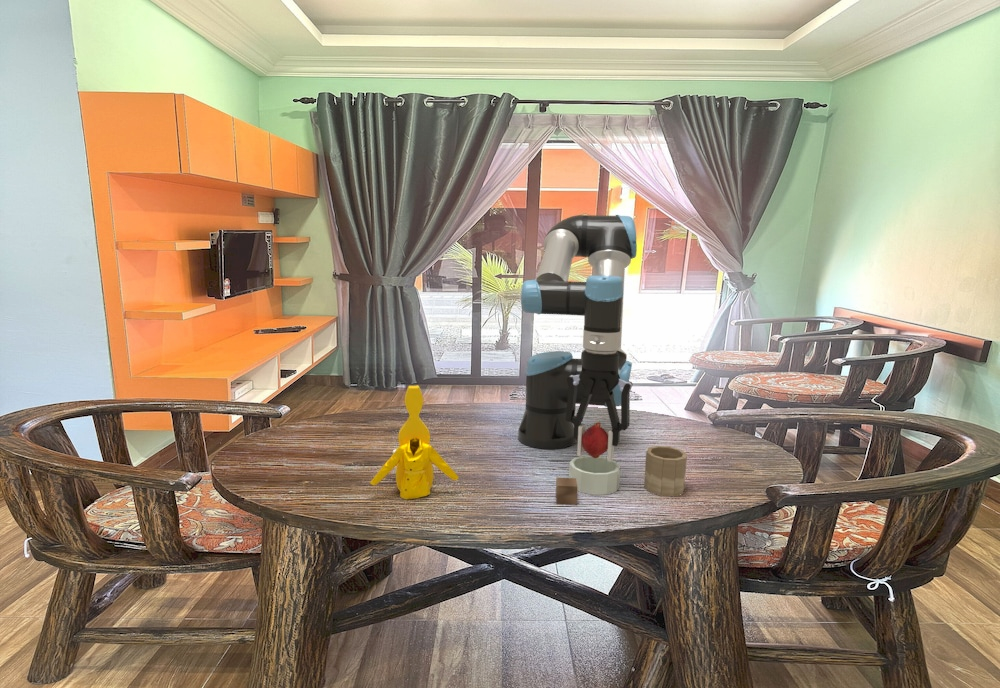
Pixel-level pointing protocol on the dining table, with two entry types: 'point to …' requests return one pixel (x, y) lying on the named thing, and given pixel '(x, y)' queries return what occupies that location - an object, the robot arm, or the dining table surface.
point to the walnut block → (566, 491)
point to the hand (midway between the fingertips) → (595, 456)
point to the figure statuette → (414, 453)
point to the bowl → (595, 475)
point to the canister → (665, 470)
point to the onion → (595, 440)
